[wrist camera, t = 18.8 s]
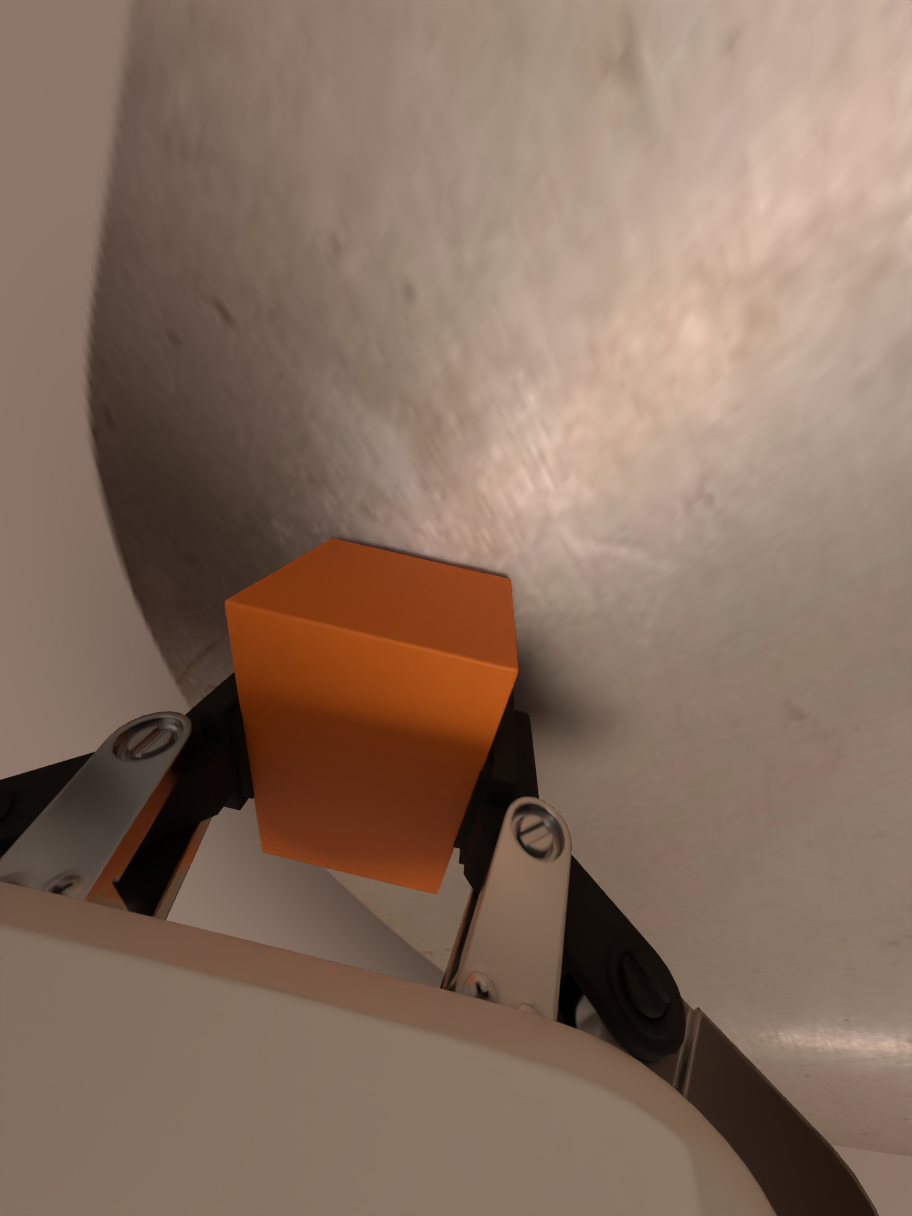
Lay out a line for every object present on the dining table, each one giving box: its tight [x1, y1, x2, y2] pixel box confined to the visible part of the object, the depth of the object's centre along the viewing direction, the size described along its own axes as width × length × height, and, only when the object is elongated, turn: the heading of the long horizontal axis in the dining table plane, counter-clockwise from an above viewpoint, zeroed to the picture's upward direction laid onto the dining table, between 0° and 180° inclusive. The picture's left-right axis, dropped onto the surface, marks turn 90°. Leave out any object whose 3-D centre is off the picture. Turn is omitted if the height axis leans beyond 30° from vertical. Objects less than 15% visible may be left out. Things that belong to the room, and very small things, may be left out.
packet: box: [224, 538, 519, 894], centre depth 9 cm, size 5×8×4 cm, turn 169°
